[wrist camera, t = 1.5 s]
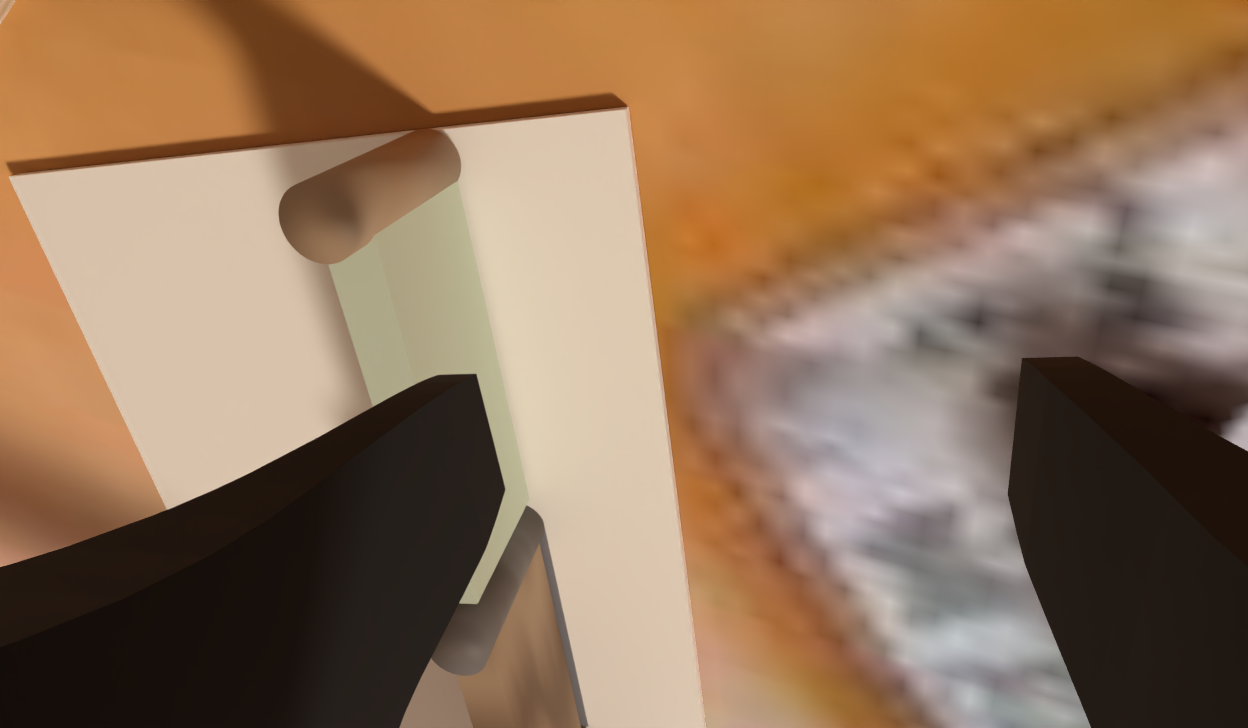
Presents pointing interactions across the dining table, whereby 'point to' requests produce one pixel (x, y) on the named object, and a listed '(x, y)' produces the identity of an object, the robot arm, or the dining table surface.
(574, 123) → the card
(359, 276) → the fence panel
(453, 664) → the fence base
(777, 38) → the dining table surface
